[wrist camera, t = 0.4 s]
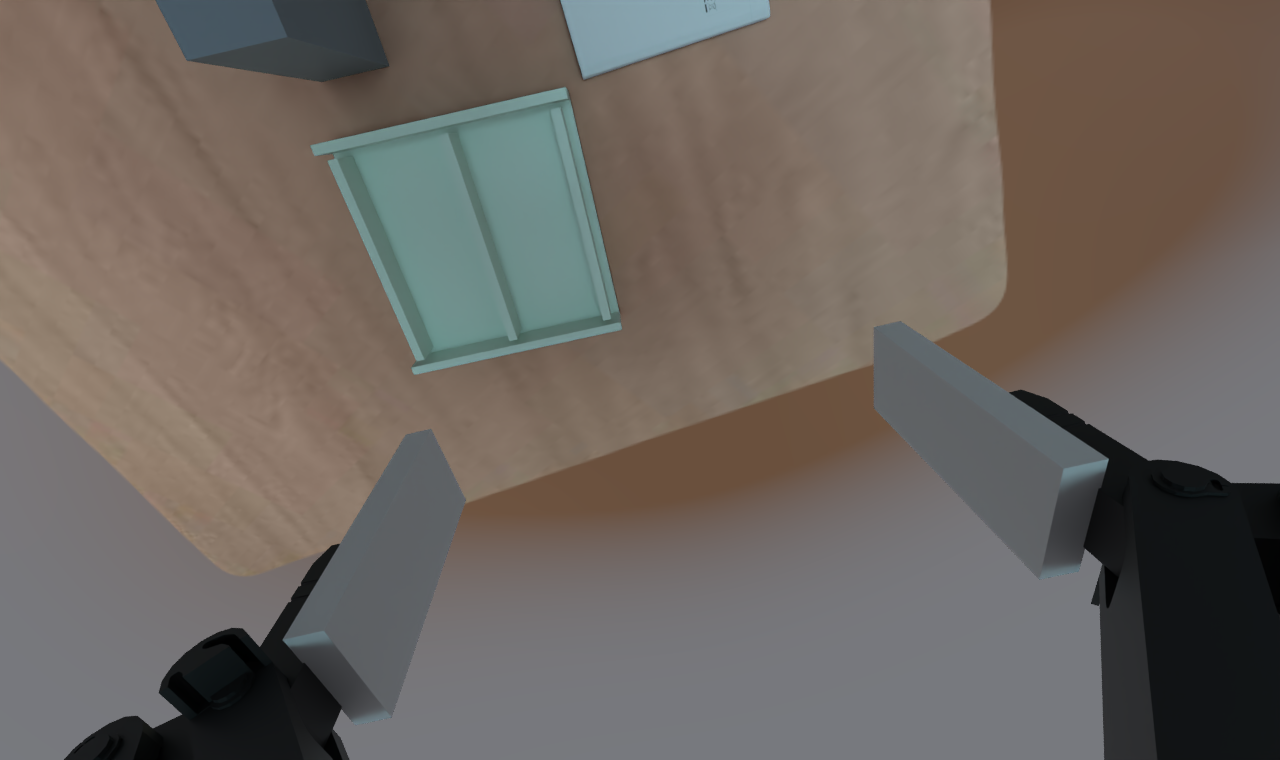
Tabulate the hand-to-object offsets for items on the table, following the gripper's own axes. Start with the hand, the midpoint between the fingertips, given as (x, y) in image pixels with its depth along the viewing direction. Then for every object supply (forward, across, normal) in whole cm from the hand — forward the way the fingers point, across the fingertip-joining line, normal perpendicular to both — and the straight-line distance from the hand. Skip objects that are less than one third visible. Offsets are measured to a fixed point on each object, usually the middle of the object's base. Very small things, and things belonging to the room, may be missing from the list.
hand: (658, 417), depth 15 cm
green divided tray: (+26, -9, +2) cm, 28 cm away
